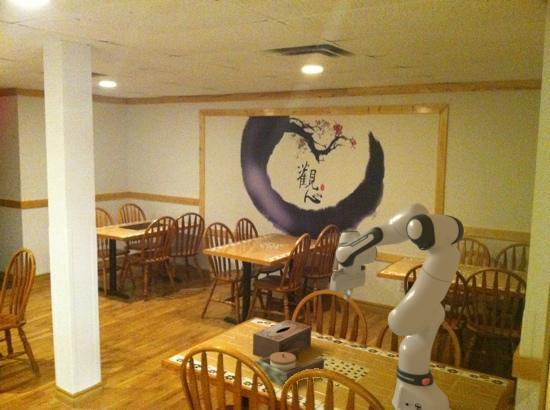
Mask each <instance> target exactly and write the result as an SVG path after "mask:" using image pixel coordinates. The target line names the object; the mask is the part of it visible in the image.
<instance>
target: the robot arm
mask: <svg viewBox="0 0 550 410" xmlns="http://www.w3.org/2000/svg"><path fill="white" fill-rule="evenodd" d="M464 229H465V228H464V225H463V222H462V221H461V220H460V219H458V218H457V217H455V216H453V215H449V214H448V215H447V214H446V215H445V214H444V215H443V214H437V213H430V212H429V210H428V209H427V207H426V206H425V205H423V204H421V203H412V204H408V205H407V206H404V207H403V208H401V209H399V210H398V211H396V212H394V213H393V214H392V215H391V216H389V217H388V218H386V219H385V220H384V221H381V223H378V224H377V225H376V226H374V227H373V228H370V229H369V230H367V231H365V232H364V233H362V234H361V232H360V231H357V230H346V231H343V232H342V233H340V238H339V244H338V245H337V247H336V248H335V255H334V256H335V260H336V261H337V262H338V268H337V269H334V271H333V272H332V275H331V278H330V283H329V290H330V291H332V292H334V293H338V292H342V294H343V299H344V300H348V299H349V300H350V299H351V298H352V293H353V291H354V288H359V287H362V286H365V283H366V274H367V273H366V270H367V265H368V264H372V263H374V262H375V261H376V260H377V258H378V249H377V247H380V246H390V245H397V244H401V243H405V242H406V241H409V240H410V241H411V243H413V244H414V245H415V246H416V247H418V250H420V251H426V257H425V259H424V262H423V263H422V266H421V268H420V269H419V270H420V271H419V272H418V275H417V277H416V279H415V281H414V283H413V284H412V287H411V288H410V289H409V290H408V291H407V293H406V294H405V296H404V297H403V298H402V299H401V301H400V302H399V304H397V306H396V307H394V308H393V309H392V310H391V311H390V312H388V313H389V314H388V316H387V323H388V327H389V329H390V330H391V332H392V333H394V334H395V335H396V336H397V337H398V336H399V337H404V338H403V340H402V341H401V342H400V344H399V349H398V365H397V366H396V385H395V389H394V394H393V395H392V396H393V397H392V399H391V404H392V407H394V410H453V409H452V408H450V403H449V398H448V397H447V395H446V394H445V393H444V392H443V391H442V390H441V389H440V387H439V386H438V385H437V384H436V383H435V382H434V381H435V380H434V379H436V378H437V377H436V376H437V374H432V371H431V368H430V367H431V354H432V349H433V345H434V342H435V339H436V336H437V333H438V330H439V328H440V326H441V325H442V323H443V322H444V320H445V318H446V311H445V308H444V306H443V305H442V304H441V302H442V301H443V300H445V297H446V295H447V293H448V291H449V288H450V287H451V285H452V282H453V280H454V278H455V276H456V274H457V272H458V268H459V264H460V261H461V253H460V250H459V249H458V248H457V246H454V245H455V244H457V243H460V241H461V240H462V238H463V237H464V233H465V230H464Z"/></svg>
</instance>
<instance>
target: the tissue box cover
mask: <svg viewBox="0 0 550 410" xmlns="http://www.w3.org/2000/svg"><path fill="white" fill-rule="evenodd" d="M252 337H253V338H252V339H253V340H252V355H253V356H256V357H260V358H261V359H262V358H265V357H268V356H270V355H272V354H273V353H277V352H282V351H285V350H288V349H291V348H294V347H297V348H299V353H301V352H303V351H304V350H306V349H308V348H310V347H312V346H311V345H312V326H311V325H308V324H304V323H300V322H297V321H293V320H290V319H285V320H283V321H280V322H278V323H276V324H273V325H271V326H269V327H266V328H263V329H261V330H259V331H256V332H254V333H253V334H252Z"/></svg>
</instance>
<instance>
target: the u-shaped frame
mask: <svg viewBox="0 0 550 410" xmlns="http://www.w3.org/2000/svg"><path fill="white" fill-rule="evenodd" d="M282 352H287V353H291V354H293V355H294V356H295V357H296V361H297V360H299V357H300V355H299V354H300V352H299V348H297V347H294V348H291V349H288V350H285V351H282ZM270 356H271V355H270ZM270 356H268V357H265V358H262V357H261V358H258V359H256V360H255V361H254V364H255V363H257V364H258V365H259V366H260V367H261V368H262V369H263V370H264V372H265V373H266V374H267V375H268V377H269V378H270V380H271V382H272V383H275V384H276V385H278V386H280V387H282V388H283V385H284V384H285V382H286V381H287V380H288V379H289V378H290V377H291V376H293V375H294V374H296V373H298V372H301V371H303V370H306V369H314V368H319V369H323V368H324V369H325V358H323V357H318V358H317V359H313V360H311V361H308V362H306V363H303V364H300V365H298V366H295V368H292V369H289V370H287V371H284V372H283V371H281V370H279V369H277V368H275V367H273V366H271V365H270ZM270 380H269V381H270Z"/></svg>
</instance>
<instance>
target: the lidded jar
mask: <svg viewBox="0 0 550 410" xmlns="http://www.w3.org/2000/svg"><path fill="white" fill-rule="evenodd" d="M296 361H297V360H296V357H295V356H294V355H293V354H291V353H287V352H277V353H273V354H272V355H271V356H270V365H271V366H273V367H275V368H277V369H279V370H281V371H283V372H284V371H287V370H289V369H292V368H295V367H296Z"/></svg>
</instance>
